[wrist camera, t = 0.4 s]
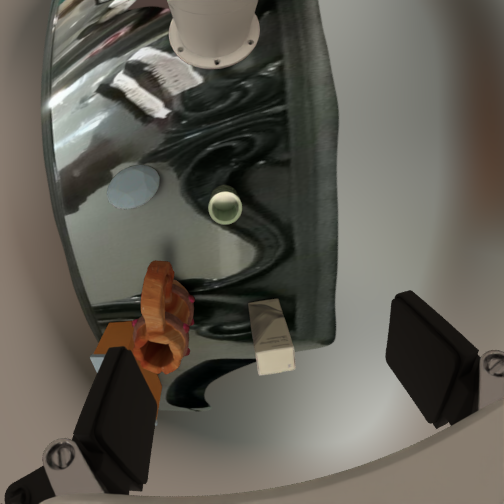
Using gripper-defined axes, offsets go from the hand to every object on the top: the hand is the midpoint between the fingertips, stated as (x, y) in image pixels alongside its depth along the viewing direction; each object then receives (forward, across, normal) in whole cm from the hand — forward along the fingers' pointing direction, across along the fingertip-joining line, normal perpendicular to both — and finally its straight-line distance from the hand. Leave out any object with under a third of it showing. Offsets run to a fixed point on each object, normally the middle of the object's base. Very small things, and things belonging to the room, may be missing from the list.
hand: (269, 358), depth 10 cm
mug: (+34, +12, +12) cm, 38 cm away
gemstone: (+34, +13, -5) cm, 37 cm away
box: (+34, -2, +19) cm, 40 cm away
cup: (+34, +1, 0) cm, 34 cm away
